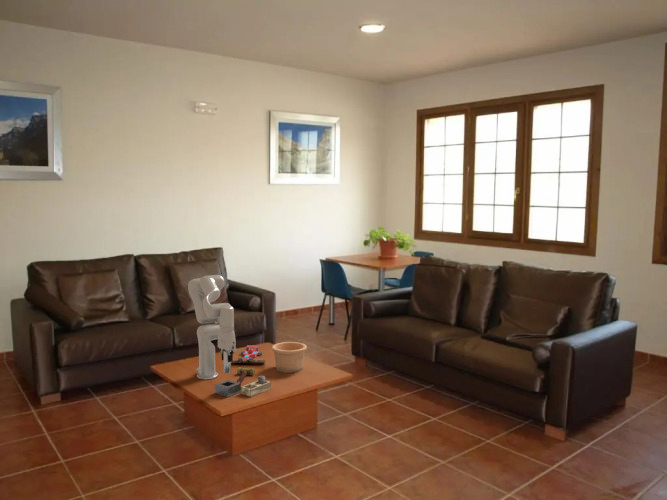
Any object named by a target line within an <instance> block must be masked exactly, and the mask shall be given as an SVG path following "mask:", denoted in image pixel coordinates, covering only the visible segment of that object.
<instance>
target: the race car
mask: <svg viewBox="0 0 667 500" xmlns="http://www.w3.org/2000/svg"><path fill="white" fill-rule="evenodd" d="M254 348H255V349H254ZM257 356H258V357H262V356H263V352H262V351H260V345H251V344H250V345H249V344H247V345H246V346H245V350H241V351H240V356H239V357H238V360H253V361H254V358H257Z"/></svg>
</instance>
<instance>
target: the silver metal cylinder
mask: <svg viewBox="0 0 667 500" xmlns="http://www.w3.org/2000/svg"><path fill="white" fill-rule="evenodd" d="M230 352H231V350H230ZM228 355H229V354H228V350H224V351H223V358H224V360H223V373H225V374H230V373H231V372H232V361H231V362H228Z"/></svg>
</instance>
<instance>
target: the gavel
mask: <svg viewBox="0 0 667 500" xmlns="http://www.w3.org/2000/svg"><path fill="white" fill-rule="evenodd" d="M236 371H237V373H236V374H237V375H239V378H238V379H237V380H236V382H238V383H241V384H242V382H243V381H244V380H245V378H246V376H255V374H256V369H255V367H248V368H247V367H238V368H237V370H236Z"/></svg>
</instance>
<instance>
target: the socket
mask: <svg viewBox="0 0 667 500" xmlns="http://www.w3.org/2000/svg"><path fill="white" fill-rule="evenodd" d="M241 384H242V382H241V383H238V382H237V381H234V380H230V379H227V380H223V381H221V382H217V383H216V384H214V394H215V395H219V396H221V397H226V398H229V397H232V396H235V395H237V394H239V393H240V394H241V387H242V385H241Z"/></svg>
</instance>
